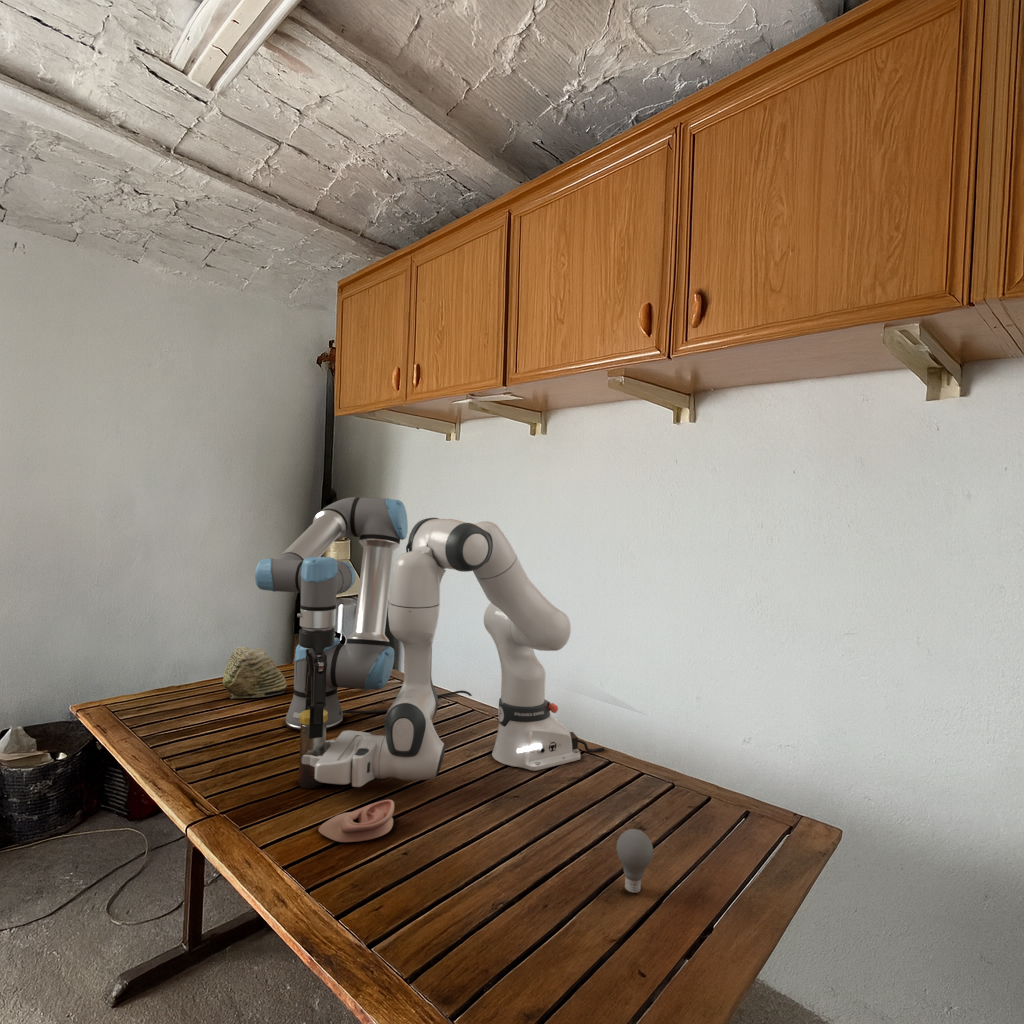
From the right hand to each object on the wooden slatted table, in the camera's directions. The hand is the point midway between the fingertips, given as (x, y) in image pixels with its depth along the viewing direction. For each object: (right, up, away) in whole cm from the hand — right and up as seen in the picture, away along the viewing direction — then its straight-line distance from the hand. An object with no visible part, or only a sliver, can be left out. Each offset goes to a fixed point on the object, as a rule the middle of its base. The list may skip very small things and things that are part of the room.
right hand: (308, 752), depth 140 cm
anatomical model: (+15, -8, -18) cm, 25 cm away
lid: (+1, +8, 0) cm, 8 cm away
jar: (+1, -7, 0) cm, 7 cm away
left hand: (+1, +5, 0) cm, 5 cm away
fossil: (-36, -4, +58) cm, 68 cm away
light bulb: (+65, -10, -34) cm, 74 cm away
